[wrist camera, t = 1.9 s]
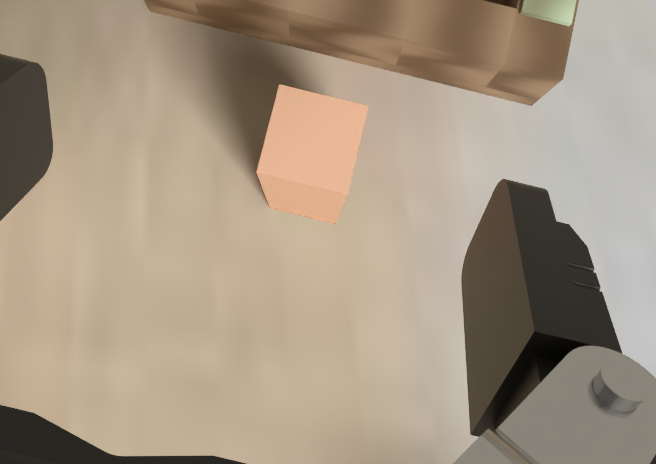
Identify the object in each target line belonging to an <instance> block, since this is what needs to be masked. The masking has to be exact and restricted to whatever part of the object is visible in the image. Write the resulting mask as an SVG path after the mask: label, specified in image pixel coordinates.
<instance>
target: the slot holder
mask: <svg viewBox="0 0 656 464" xmlns="http://www.w3.org/2000/svg"><path fill="white" fill-rule="evenodd" d="M578 1H579V0H145V2H146V4H147V6H148V8H149V10H150V11H152V12H156V13H160V14H164V15H168V16H172V17H176V18H180V19H184V20H188V21H192V22H196V23H200V24H204V25H208V26H212V27H216V28H220V29H224V30H228V31H232V32H236V33H240V34H244V35H248V36H252V37H257V38H261V39H265V40H269V41H273V42H277V43H281V44H285V45H289V46H293V47H297V48H301V49H305V50H309V51H313V52H317V53H321V54H325V55H329V56H333V57H337V58H341V59H345V60H349V61H353V62H357V63H361V64H365V65H369V66H374V67H378V68H382V69H386V70H390V71H394V72H398V73H402V74H406V75H410V76H414V77H418V78H422V79H426V80H430V81H434V82H438V83H442V84H446V85H450V86H454V87H458V88H462V89H466V90H470V91H474V92H478V93H482V94H486V95H490V96H495V97H499V98H503V99H507V100H511V101H515V102H519V103H523V104H527V105H531V106H532V105H533V104H534V103H535V102H536V101H538V100H539V99H540V98H541V97H542V96H543V95H545V94H546V93H547V92H548V91H549V90H550V89H552V88H553V87H554V86H555V85H556V84H557V83H559V82H560V81H561V80H562V79H563V76H564V71H565V66H566V61H567V56H568V51H569V46H570V41H571V36H572V31H573V26H574V21H575V16H576V11H577V6H578Z"/></svg>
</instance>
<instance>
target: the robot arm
mask: <svg viewBox="0 0 656 464" xmlns="http://www.w3.org/2000/svg"><path fill="white" fill-rule="evenodd" d="M52 152H53V139H52V130H51V120H50V111H49V101H48V92H47V83H46V76H45V73H44V70H43V68H42V67H41V66H40V65H39V64H38V63H35V62H31V61H27V60H23V59H19V58H15V57H10V56H6V55H2V54H0V221H1V220H2V219H3V218H4V217H5V216H6V215H7V214H8V213H9V212H10V211H11V209H12V208H13V207H14V206H15V205H16V204H17V203H18V202H19V201H20V200H21V199H22V198H23V197H24V196H25V195H26V194H27V193H28V192H29V191H30V190H31V189H32V188H33V187H34V186H35V185H36V184H37V183H38V182H39V180H40V179H41V178H42V177H43V176H44V175H45V173H46V171H47V169H48V167H49V165H50V162H51V158H52ZM593 271H594V266H593V263H592V260H591V257H590V254H589V251H588V248H587V246H586V245H585V243H584V242H583V241H582V240H581V239H580V237H579V236H578V235H577V234H576V233H575V231H574V230H573V229H572V228H571V226H570V225H569V224H565V223H561V222H556V219H555V215H554V212H553V208H552V204H551V201H550V197H549V194H548V191H547V190H546V189H543V188H539V187H535V186H530V185H526V184H522V183H518V182H514V181H510V180H506V179H502V180H501V181H500V182H499V183H498V184H497V186H496V188H495V190H494V192H493V194H492V196H491V198H490V201H489V203H488V205H487V207H486V209H485V212H484V214H483V216H482V218H481V220H480V223H479V225H478V227H477V229H476V231H475V234H474V236H473V238H472V240H471V242H470V245H469V247H468V250H467V252H466V256H465V259H464V264H463V269H462V297H463V314H464V331H465V348H466V365H467V383H468V400H469V417H470V434H471V435H474V436H478V437H479V438H478V439H477V440H476V441H475V442H474V443H473V444H472V445H471V446H470V447H469V448H468V449H467V450H466V451H465V452H464V453H463V454H462V455H461V456H460V457H459V458H458V459H457V460H456V461H455V462H454V464H656V379H655V377H654V376H653V375H652V374H650V373H649V372H648V371H647V370H646V369H645V368H644V367H642V366H641V365H640V364H638V363H637V362H635V361H634V360H632V359H631V358H629V357H627V356H625V355H623V354H622V351H621V348H620V345H619V342H618V339H617V336H616V333H615V330H614V327H613V324H612V321H611V318H610V315H609V312H608V309H607V306H606V303H605V300H604V296H603V293H602V292H600V291H599V290H600V284H599V281H598V278H597V275H596V273H593ZM0 464H245V463H241V462H237V461H233V460H229V459H224V458H220V457H216V456H115V455H111V454H109V453H106V452H104V451H102V450H101V449H99V448H97V447H95V446H93V445H91V444H90V443H88V442H86V441H84V440H82V439H81V438H79V437H77V436H75V435H73V434H71V433H70V432H68V431H66V430H64V429H62V428H60V427H59V426H57V425H55V424H53V423H51V422H49V421H48V420H46V419H44V418H42V417H40V416H38V415H37V414H35V413H31V412H27V411H23V410H19V409H15V408H10V407H6V406H2V405H0Z"/></svg>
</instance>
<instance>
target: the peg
mask: <svg viewBox="0 0 656 464" xmlns="http://www.w3.org/2000/svg"><path fill="white" fill-rule="evenodd" d="M368 107H369V106H366V105H362V104H358V103H354V102H350V101H346V100H341V99H337V98H333V97H329V96H325V95H321V94H317V93H313V92H309V91H305V90H301V89H297V88H293V87H289V86H285V85H281V84H279V87H278V91H277V95H276V99H275V102H274V106H273V110H272V114H271V118H270V122H269V125H268V129H267V133H266V137H265V141H264V145H263V149H262V152H261V156H260V160H259V164H258V168H257V175H258V178H259V180H260V183H261V186H262V189H263V191H264V194H265V197H266V199H267V202H268V205H269V207H270V208H272V209H276V210H280V211H284V212H288V213H292V214H297V215H301V216H305V217H309V218H313V219H317V220H321V221H325V222H329V223H333V224H336V221H337V219H338V217H339V214H340V212H341V209H342V207H343V204H344V202H345V200H346V197H347V195H348V191H349V187H350V182H351V178H352V174H353V170H354V166H355V162H356V157H357V153H358V149H359V145H360V141H361V137H362V132H363V128H364V124H365V120H366V116H367V112H368Z"/></svg>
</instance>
